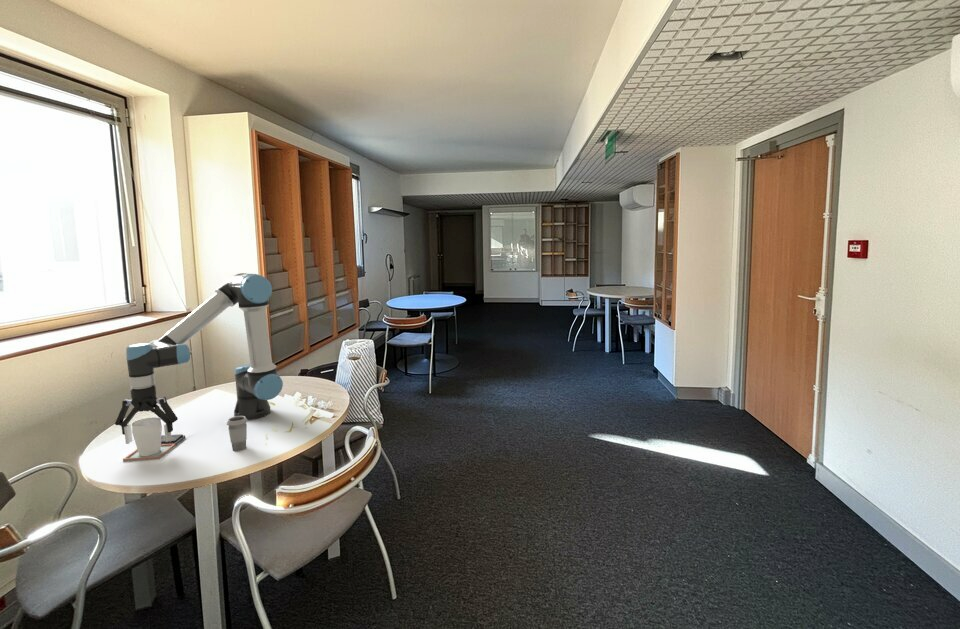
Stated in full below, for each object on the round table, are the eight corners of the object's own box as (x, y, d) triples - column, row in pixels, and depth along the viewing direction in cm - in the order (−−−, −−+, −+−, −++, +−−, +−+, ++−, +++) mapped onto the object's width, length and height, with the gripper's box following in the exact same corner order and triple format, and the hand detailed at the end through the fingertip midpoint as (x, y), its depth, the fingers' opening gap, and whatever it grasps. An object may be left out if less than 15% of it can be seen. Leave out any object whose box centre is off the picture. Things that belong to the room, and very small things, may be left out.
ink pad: (185, 438, 192) (185, 433, 192) (176, 445, 185) (175, 441, 185) (153, 439, 191) (152, 435, 191) (142, 447, 183) (142, 443, 183)
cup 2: (235, 454, 177) (232, 423, 175) (225, 450, 181) (222, 419, 179) (253, 447, 183) (250, 417, 181) (243, 443, 187) (240, 414, 185)
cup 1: (149, 458, 173) (145, 427, 171) (128, 456, 175) (125, 425, 173) (170, 448, 181) (167, 418, 180) (150, 446, 183) (146, 416, 182)
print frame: (175, 445, 185) (175, 443, 185) (159, 459, 173) (158, 457, 173) (142, 447, 183) (142, 445, 183) (123, 461, 171) (122, 459, 171)
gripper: (184, 381, 179) (189, 435, 183) (112, 384, 176) (118, 439, 180) (174, 387, 172) (179, 443, 175) (98, 390, 169) (106, 447, 172)
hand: (149, 441), depth 177 cm, fingers open, 13 cm apart
